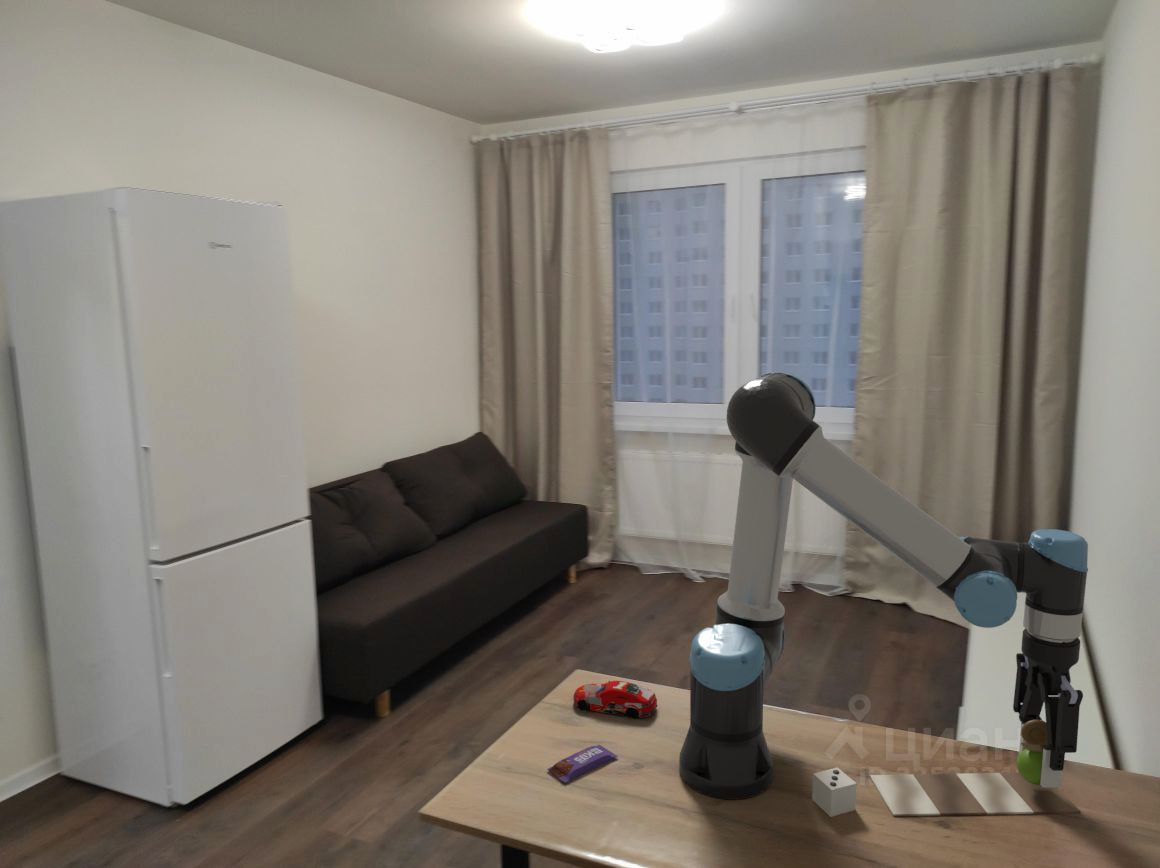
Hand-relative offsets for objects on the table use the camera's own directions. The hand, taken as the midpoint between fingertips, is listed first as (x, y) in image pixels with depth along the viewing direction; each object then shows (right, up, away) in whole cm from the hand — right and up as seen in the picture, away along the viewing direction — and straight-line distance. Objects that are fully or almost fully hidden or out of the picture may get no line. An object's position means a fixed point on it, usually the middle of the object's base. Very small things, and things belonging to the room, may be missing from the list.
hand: (1039, 773), depth 125 cm
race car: (-65, 0, +29) cm, 71 cm away
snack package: (-71, -4, +10) cm, 72 cm away
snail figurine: (0, -2, 0) cm, 2 cm away
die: (-32, -4, -1) cm, 33 cm away
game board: (-10, -3, +1) cm, 11 cm away
